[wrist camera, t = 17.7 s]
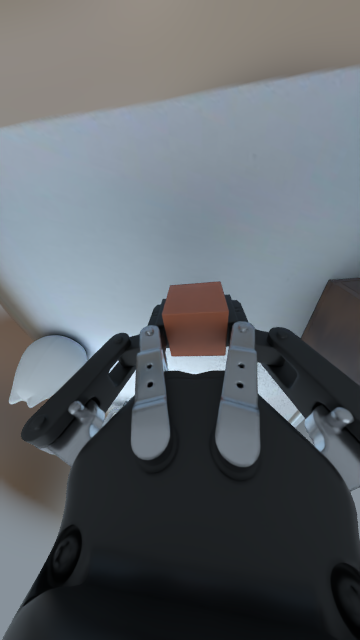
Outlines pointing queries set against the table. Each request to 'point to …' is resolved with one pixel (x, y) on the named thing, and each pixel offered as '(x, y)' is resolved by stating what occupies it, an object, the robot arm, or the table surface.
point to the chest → (338, 326)
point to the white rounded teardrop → (46, 368)
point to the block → (196, 319)
